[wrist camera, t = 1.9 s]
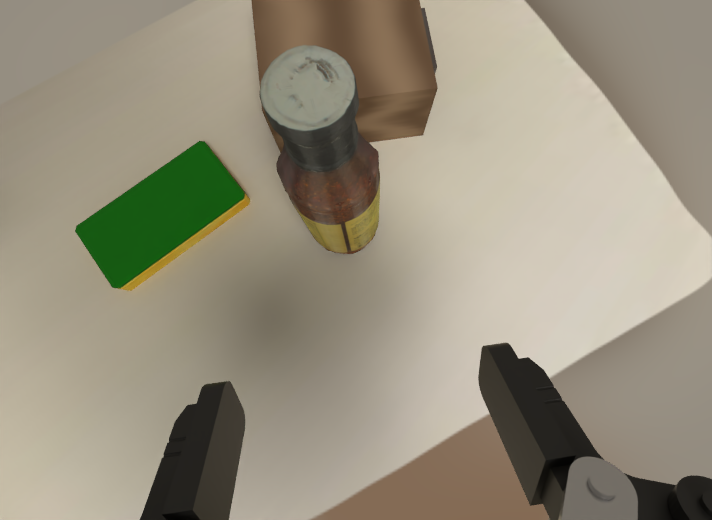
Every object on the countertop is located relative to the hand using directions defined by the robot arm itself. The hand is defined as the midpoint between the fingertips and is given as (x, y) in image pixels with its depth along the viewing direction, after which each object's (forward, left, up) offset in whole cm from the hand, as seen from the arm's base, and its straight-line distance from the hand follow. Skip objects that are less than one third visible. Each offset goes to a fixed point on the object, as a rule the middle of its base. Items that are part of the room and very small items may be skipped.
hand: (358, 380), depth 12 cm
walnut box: (+2, +26, -21) cm, 33 cm away
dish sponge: (-16, +15, -21) cm, 30 cm away
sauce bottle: (0, +12, -21) cm, 24 cm away
